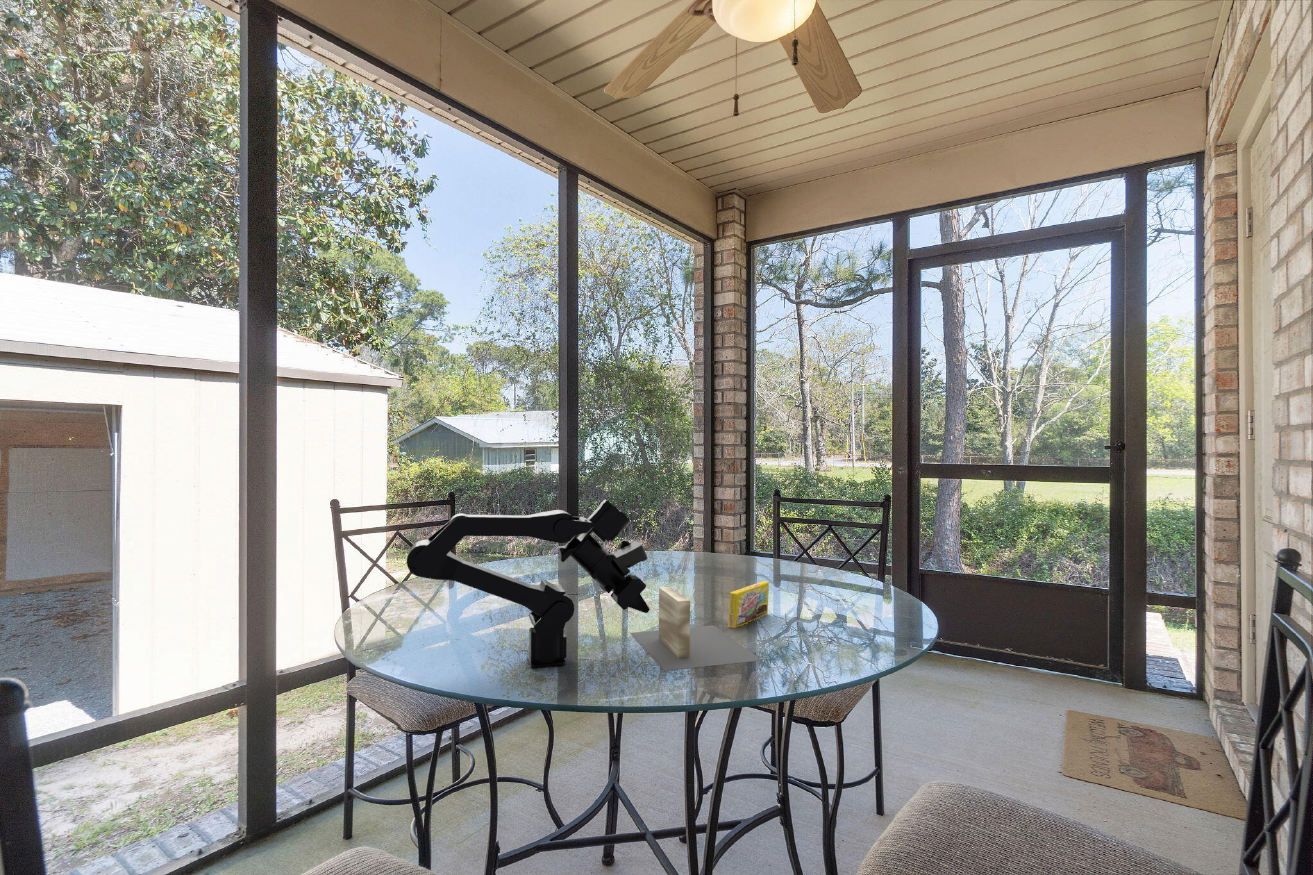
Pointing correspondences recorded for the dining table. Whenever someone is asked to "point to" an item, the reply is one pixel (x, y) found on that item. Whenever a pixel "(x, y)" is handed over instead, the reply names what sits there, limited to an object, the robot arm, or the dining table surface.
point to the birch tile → (674, 621)
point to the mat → (696, 649)
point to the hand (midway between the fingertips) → (647, 611)
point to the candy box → (748, 604)
